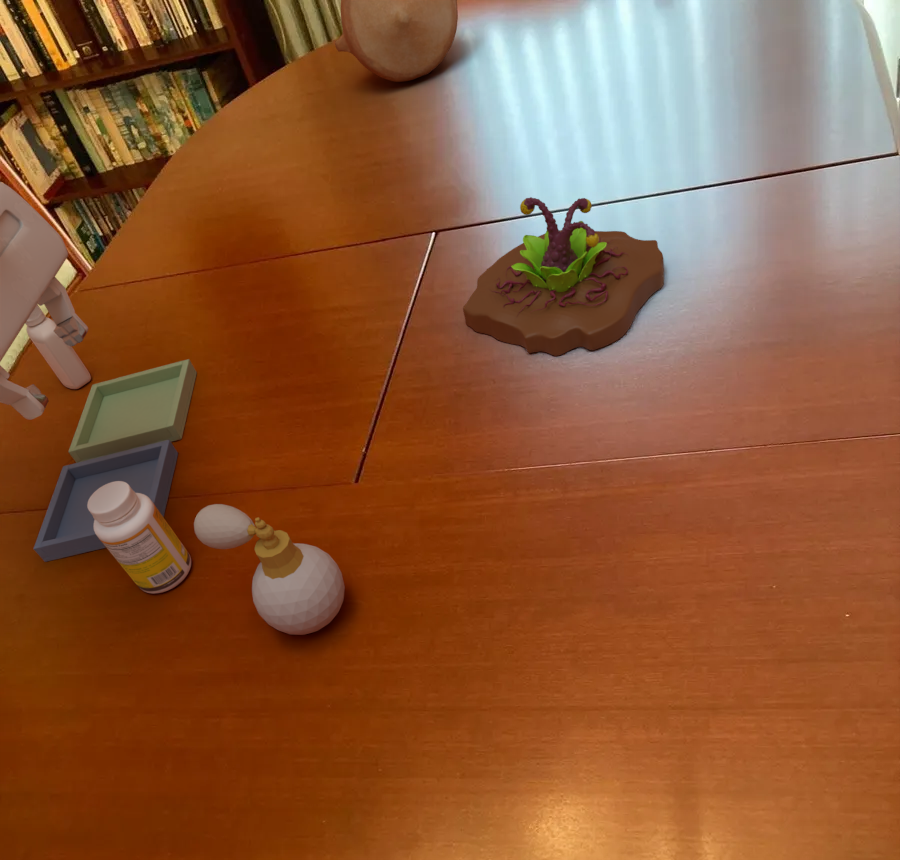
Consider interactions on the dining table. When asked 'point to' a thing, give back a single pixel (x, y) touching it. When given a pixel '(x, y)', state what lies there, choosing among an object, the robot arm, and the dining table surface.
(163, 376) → the green tray
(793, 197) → the dining table surface
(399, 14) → the jug
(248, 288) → the dining table surface
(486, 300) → the plant
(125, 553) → the supplement bottle
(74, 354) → the eye dropper bottle
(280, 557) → the perfume bottle
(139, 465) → the blue tray
